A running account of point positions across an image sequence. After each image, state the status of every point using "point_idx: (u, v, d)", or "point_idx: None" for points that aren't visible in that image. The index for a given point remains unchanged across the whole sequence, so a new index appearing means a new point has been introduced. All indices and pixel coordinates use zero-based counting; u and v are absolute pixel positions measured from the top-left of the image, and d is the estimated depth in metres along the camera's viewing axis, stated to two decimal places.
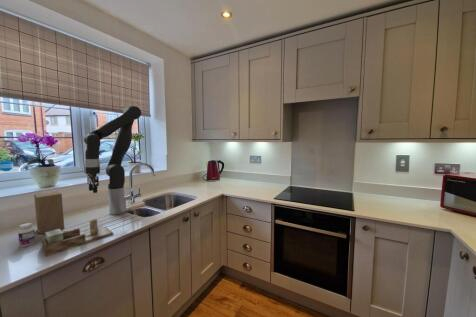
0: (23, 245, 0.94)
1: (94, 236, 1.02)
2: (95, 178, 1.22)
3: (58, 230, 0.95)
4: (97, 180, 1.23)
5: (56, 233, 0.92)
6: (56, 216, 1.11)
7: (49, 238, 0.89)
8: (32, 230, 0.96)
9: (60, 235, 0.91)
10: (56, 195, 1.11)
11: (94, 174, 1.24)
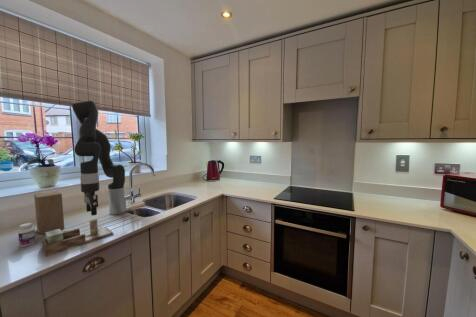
0: (23, 245, 0.94)
1: (94, 236, 1.02)
2: (93, 197, 0.98)
3: (58, 230, 0.95)
4: (96, 200, 0.99)
5: (56, 233, 0.92)
6: (56, 216, 1.11)
7: (49, 238, 0.89)
8: (32, 230, 0.96)
9: (60, 235, 0.91)
10: (56, 195, 1.11)
11: (92, 192, 1.00)
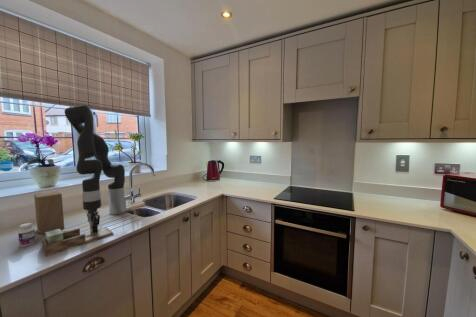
0: (23, 245, 0.94)
1: (94, 236, 1.02)
2: (96, 218, 0.99)
3: (58, 230, 0.95)
4: (98, 220, 1.00)
5: (56, 233, 0.92)
6: (56, 216, 1.11)
7: (49, 238, 0.89)
8: (32, 230, 0.96)
9: (60, 235, 0.91)
10: (56, 195, 1.11)
11: (94, 209, 1.01)
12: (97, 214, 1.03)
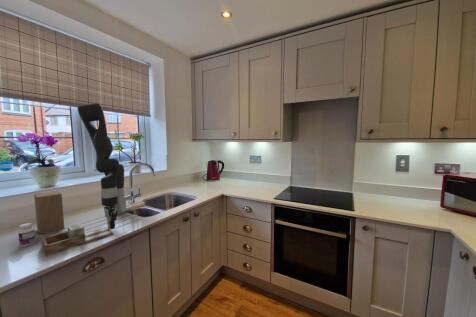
0: (23, 245, 0.94)
1: (94, 236, 1.02)
2: (113, 214, 1.05)
3: (79, 225, 1.01)
4: (115, 215, 1.06)
5: (78, 227, 0.98)
6: (56, 216, 1.11)
7: (72, 232, 0.95)
8: (32, 230, 0.96)
9: (81, 229, 0.97)
10: (56, 195, 1.11)
11: (112, 205, 1.07)
12: (114, 210, 1.09)
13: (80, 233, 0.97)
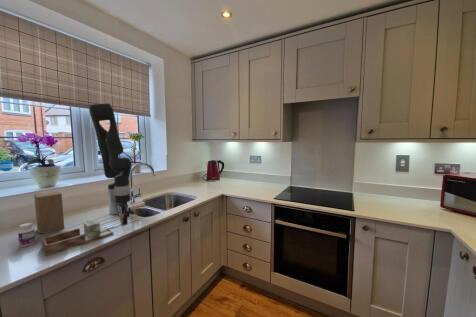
0: (23, 245, 0.94)
1: (94, 236, 1.02)
2: (127, 210, 1.10)
3: (94, 221, 1.05)
4: (128, 212, 1.11)
5: (94, 223, 1.02)
6: (56, 216, 1.11)
7: (88, 227, 1.00)
8: (32, 230, 0.96)
9: (97, 225, 1.02)
10: (56, 195, 1.11)
11: (125, 203, 1.12)
12: None
13: (96, 229, 1.02)
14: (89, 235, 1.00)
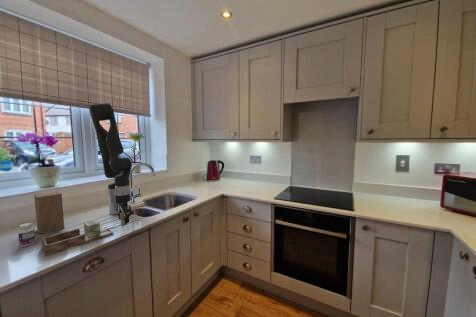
0: (23, 245, 0.94)
1: (94, 236, 1.02)
2: (127, 208, 1.10)
3: (95, 221, 1.06)
4: (129, 209, 1.11)
5: (94, 223, 1.03)
6: (56, 216, 1.11)
7: (89, 227, 1.00)
8: (32, 230, 0.96)
9: (97, 225, 1.02)
10: (56, 195, 1.11)
11: (125, 203, 1.12)
12: None
13: (96, 228, 1.02)
14: (89, 235, 1.00)
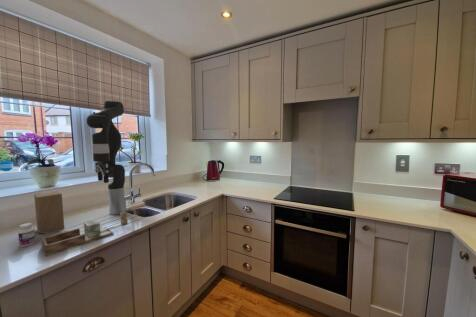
0: (23, 245, 0.94)
1: (94, 236, 1.02)
2: (106, 166, 1.06)
3: (95, 221, 1.06)
4: (108, 168, 1.07)
5: (94, 223, 1.03)
6: (56, 216, 1.11)
7: (89, 227, 1.00)
8: (32, 230, 0.96)
9: (97, 225, 1.02)
10: (56, 195, 1.11)
11: (104, 161, 1.08)
12: None
13: (96, 228, 1.02)
14: (89, 235, 1.00)
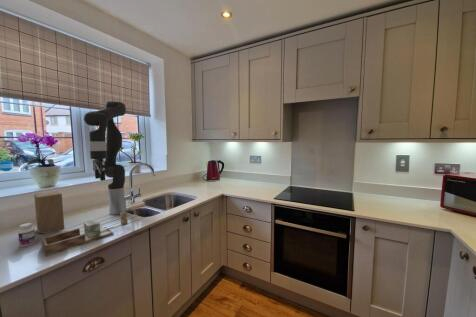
0: (23, 245, 0.94)
1: (94, 236, 1.02)
2: (102, 163, 1.06)
3: (95, 221, 1.06)
4: (104, 166, 1.06)
5: (94, 223, 1.03)
6: (56, 216, 1.11)
7: (89, 227, 1.00)
8: (32, 230, 0.96)
9: (97, 225, 1.02)
10: (56, 195, 1.11)
11: (101, 159, 1.08)
12: None
13: (96, 228, 1.02)
14: (89, 235, 1.00)
